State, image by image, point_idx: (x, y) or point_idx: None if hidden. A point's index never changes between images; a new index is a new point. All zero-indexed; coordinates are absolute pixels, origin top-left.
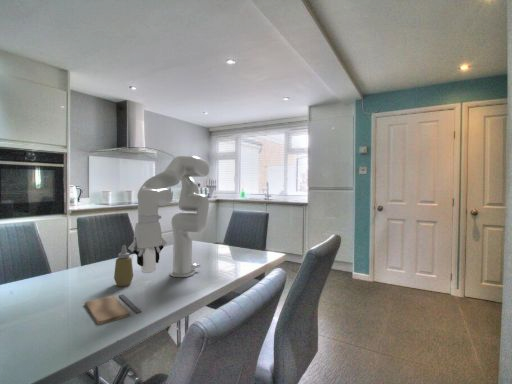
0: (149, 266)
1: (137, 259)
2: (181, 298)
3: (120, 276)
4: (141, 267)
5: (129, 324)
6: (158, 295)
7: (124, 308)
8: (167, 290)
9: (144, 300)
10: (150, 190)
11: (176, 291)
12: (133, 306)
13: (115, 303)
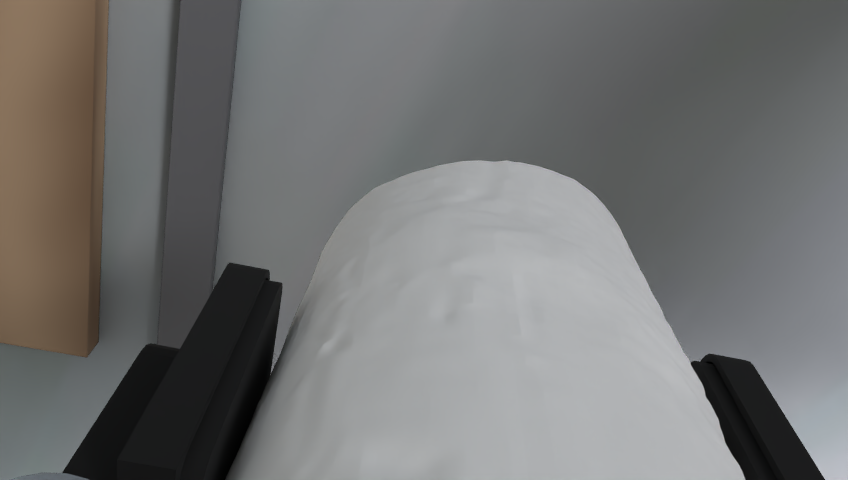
0: None
1: (101, 442)
2: None
3: None
4: (305, 293)
5: (35, 466)
6: (589, 135)
7: (76, 231)
8: (781, 82)
9: (384, 135)
10: None
11: (811, 203)
12: (190, 224)
13: (35, 17)
